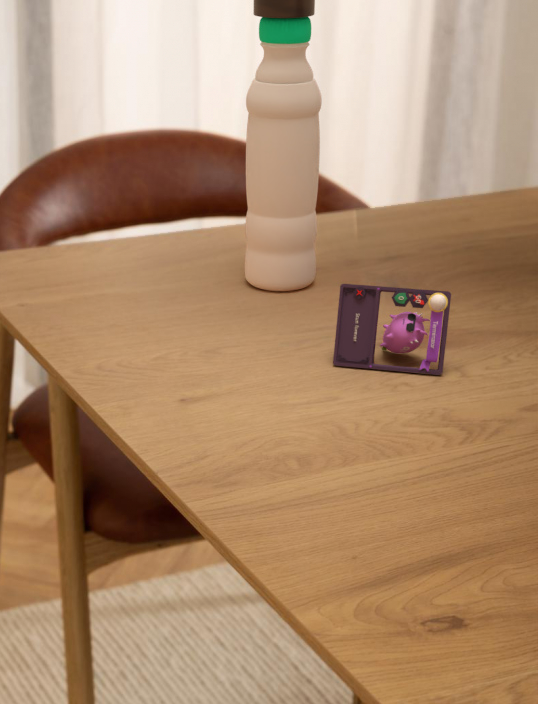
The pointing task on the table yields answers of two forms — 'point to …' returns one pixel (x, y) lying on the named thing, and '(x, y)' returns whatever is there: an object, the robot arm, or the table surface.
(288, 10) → the brown wooden puck
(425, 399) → the table surface
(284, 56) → the water bottle
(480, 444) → the table surface
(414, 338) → the game card
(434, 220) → the table surface
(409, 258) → the table surface
